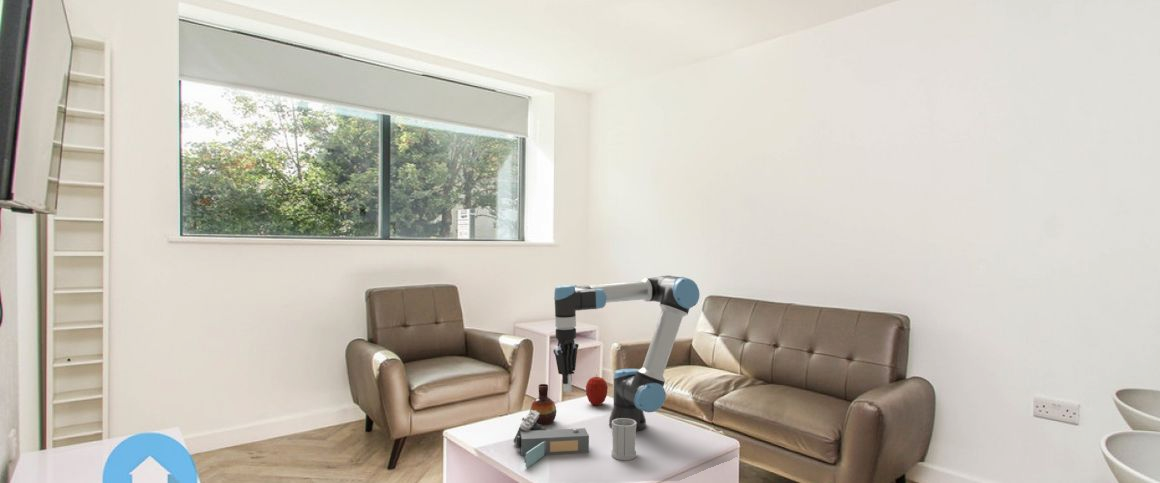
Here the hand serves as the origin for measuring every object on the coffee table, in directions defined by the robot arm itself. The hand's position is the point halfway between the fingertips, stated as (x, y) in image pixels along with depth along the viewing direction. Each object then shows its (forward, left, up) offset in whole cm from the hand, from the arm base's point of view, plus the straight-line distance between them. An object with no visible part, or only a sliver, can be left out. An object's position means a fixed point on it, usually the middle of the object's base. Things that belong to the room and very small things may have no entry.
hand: (567, 391), depth 203 cm
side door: (+12, +11, -20) cm, 26 cm away
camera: (+12, -10, -21) cm, 26 cm away
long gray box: (+5, +1, -21) cm, 21 cm away
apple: (-21, -51, -21) cm, 59 cm away
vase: (+6, -30, -21) cm, 37 cm away
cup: (-19, +9, -21) cm, 30 cm away
